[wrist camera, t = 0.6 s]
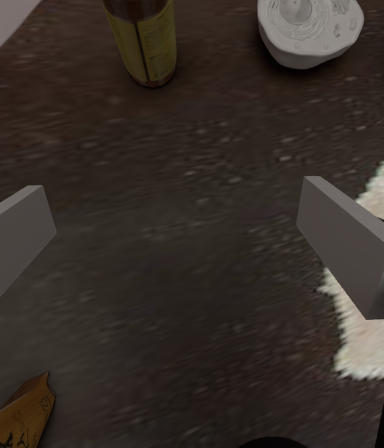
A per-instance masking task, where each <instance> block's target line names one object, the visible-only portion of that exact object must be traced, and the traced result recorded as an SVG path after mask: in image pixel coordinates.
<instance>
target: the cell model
mask: <svg viewBox="0 0 384 448" xmlns="http://www.w3.org/2000/svg"><path fill="white" fill-rule="evenodd" d="M363 23H364V15H363V12H362V10H361V8H360V6H359V4H358V3H357V1H356V0H258V25H259V31H260V35H261V38H262V40H263V42H264V44H265V45H266V47H267V49H268V50H269V52H270V54H271V55H272V56H273V58H274V59H275V60H276V61H277V62H278V63H279V64H281V65H283V66H285V67H289V68H294V69H309V68H312V67H314V66H317V65H319V64H321V63H323V62H325V61H327V60H330V59H333V58H335V57H338V56H340V55H341V54H343V53H344V52H345V51H346V50H347V49H348V48H349V47H350V46H351V45H352V44H353V43H354V42H355V41H356V40H357V38H358V36H359V33H360V31H361V29H362V26H363Z"/></svg>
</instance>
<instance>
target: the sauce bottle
mask: <svg viewBox="0 0 384 448" xmlns="http://www.w3.org/2000/svg"><path fill="white" fill-rule="evenodd" d="M101 2H102V4H103V7H104V10H105V12H106V15H107V18H108V20H109V23H110V26H111V29H112V31H113V34H114V37H115V39H116V42H117V45H118V48H119V51H120V53H121V56H122V59H123V62H124V65H125V67H126V68H127V70H128V71H129V73H130V75H131V77H132V78H133V79H134V80H135V81H136V82H138V83H139V84H141V85H144V86H148V87H158V86H161V85H163V84H164V83H166V82H168V81H169V80H170V79H171V78H172V76H173V73H174V71H175V68H176V58H177V50H176V36H175V23H174V8H173V0H101Z"/></svg>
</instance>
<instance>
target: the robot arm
mask: <svg viewBox="0 0 384 448" xmlns="http://www.w3.org/2000/svg"><path fill="white" fill-rule="evenodd" d="M296 226H297V227H298V229H299V230H300V231H301V233H302V234H303V235H304V237H305V238H306V239H307V241H308V242H309V243H310V245H311V246H312V247H313V249H314V250H315V252H316V253H317V254H318V256H319V257H320V258H321V260H322V261H323V262H324V264H325V265H326V266H327V268H328V269H329V270H330V272H331V273H332V274H333V276H334V277H335V278H336V280H337V281H338V283H339V284H340V285H341V287H342V288H343V289H344V291H345V292H346V293H347V295H348V296H349V297H350V299H351V300H352V301H353V303H354V304H355V305H356V307H357V308H358V309H359V311H360V312H361V313H362V315H363V316H364V318H365V319H366V320H374V319H384V220H383V219H381V218H379V217H376V216H374V215H373V214H372V213H370V212H369V211H368V210H366V209H365V208H363V207H362V206H361V205H359V204H358V203H356V202H355V201H354V200H352V199H351V198H349V197H348V196H347V195H345V194H344V193H342V192H341V191H340V190H338V189H337V188H336V187H334V186H333V185H331V184H330V183H329V182H327V181H326V180H324V179H323V178H322V177H320V176H304V180H303V186H302V192H301V199H300V205H299V211H298V217H297V223H296ZM56 234H57V232H56V228H55V225H54V222H53V218H52V215H51V212H50V209H49V205H48V202H47V199H46V195H45V192H44V189H43V185H39V186H26V187H25V188H23V189H22V190H20V191H19V192H17V193H15V194H14V195H12V196H11V197H9V198H7V199H6V200H4V201H3V202H1V203H0V296H1V295H2V294H3V293H4V292H5V291H6V290H7V288H8V287H9V286H10V285H11V284H12V283H13V282H14V281H15V279H16V278H17V277H18V276H19V275H20V274H21V273H22V272H23V270H24V269H25V268H26V267H27V266H28V265H29V264H30V263H31V262H32V260H33V259H34V258H35V257H36V256H37V255H38V254H39V253H40V251H41V250H42V249H43V248H44V247H45V246H46V245H47V244H48V242H49V241H50V240H51V239H52V238H53V237H54V236H55V235H56ZM240 448H307V447H305V446H303V445H302V444H300V443H297V442H295V441H292V440H289V439H284V438H264V439H259V440H255V441H252V442H250V443H247V444H245V445H244V446H242V447H240ZM375 448H384V405H383V410H382V414H381V419H380V424H379V429H378V434H377V439H376V443H375Z"/></svg>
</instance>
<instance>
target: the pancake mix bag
mask: <svg viewBox="0 0 384 448" xmlns="http://www.w3.org/2000/svg"><path fill="white" fill-rule="evenodd" d="M48 371H49V370H48ZM48 371H47V372H45V373H43V374H41V375H39V376H38V377H35V378H33V379H31V380H28V381H26V382H25V383H24V384H23V385H22V386H21V387H20V388H19V389H18V390H17V391H16V392H15V393H14V394H13V395H12V396H11V397H10V398H9V399H8V400H7V401H6V402H5V404H4V405H3V406H2V408H1V409H0V448H37V445H38V443H39V440H40V437H41V435H42V432H43V430H44V427H45V425H46V423H47V420H48V418H49V415H50V413H51V410H52V407H53V404H54V400H55V396H56V394H55V393H54V392H53V391H52V389H51V388H50V387H49V386H48V385H47V379H48Z"/></svg>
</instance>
